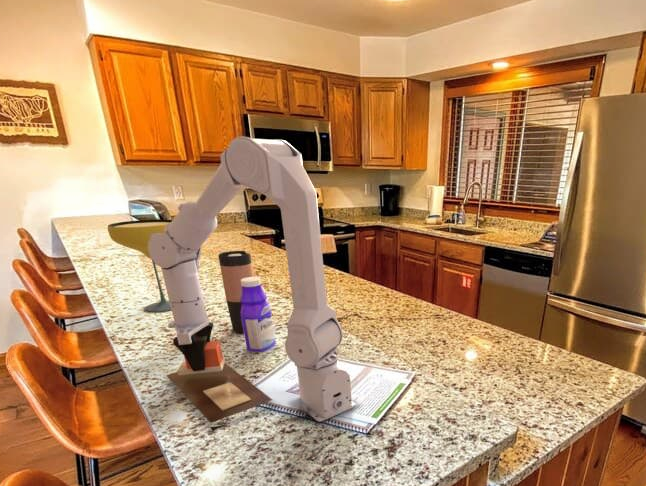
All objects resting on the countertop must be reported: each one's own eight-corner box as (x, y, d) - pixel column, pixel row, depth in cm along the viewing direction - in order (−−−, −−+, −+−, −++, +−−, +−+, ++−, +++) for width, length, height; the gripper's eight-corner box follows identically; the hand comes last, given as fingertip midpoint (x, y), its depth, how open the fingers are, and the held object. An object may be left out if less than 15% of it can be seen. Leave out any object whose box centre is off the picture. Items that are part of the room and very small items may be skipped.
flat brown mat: (273, 406, 77) (272, 398, 77) (212, 430, 71) (210, 421, 70) (221, 365, 93) (220, 358, 93) (167, 381, 87) (165, 374, 86)
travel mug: (228, 334, 111) (212, 256, 102) (237, 324, 117) (224, 250, 109) (257, 333, 111) (245, 256, 102) (265, 323, 118) (254, 250, 109)
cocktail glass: (134, 302, 137) (111, 221, 126) (196, 295, 144) (179, 218, 133) (128, 319, 122) (101, 229, 111) (197, 310, 129) (178, 224, 118)
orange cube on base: (225, 361, 88) (220, 340, 86) (221, 371, 84) (217, 348, 82) (183, 366, 86) (178, 344, 84) (178, 375, 82) (172, 352, 80)
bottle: (265, 358, 97) (254, 283, 89) (243, 356, 98) (229, 282, 90) (280, 346, 103) (270, 275, 96) (259, 344, 104) (247, 274, 97)
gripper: (173, 290, 85) (188, 352, 90) (150, 312, 72) (170, 383, 78) (210, 287, 86) (223, 349, 92) (195, 309, 73) (211, 379, 79)
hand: (201, 364), depth 85 cm, fingers closed on orange cube on base, 4 cm apart
